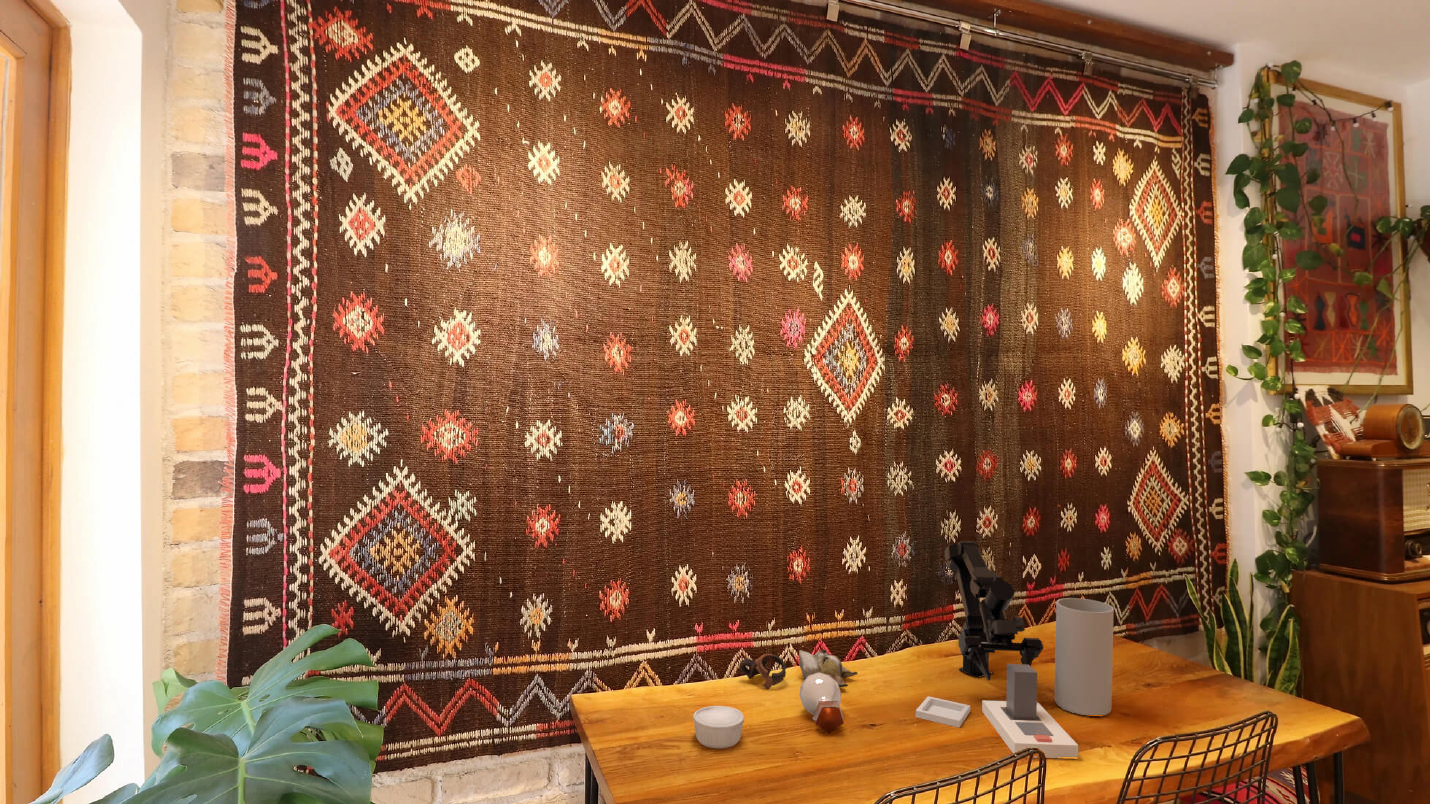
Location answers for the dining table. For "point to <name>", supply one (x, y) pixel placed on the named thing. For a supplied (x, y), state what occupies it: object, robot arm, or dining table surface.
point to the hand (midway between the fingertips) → (1008, 680)
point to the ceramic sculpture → (824, 666)
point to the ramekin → (718, 726)
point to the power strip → (1030, 731)
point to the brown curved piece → (764, 669)
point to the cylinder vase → (1084, 656)
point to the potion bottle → (822, 700)
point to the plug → (1021, 692)
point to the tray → (943, 711)
